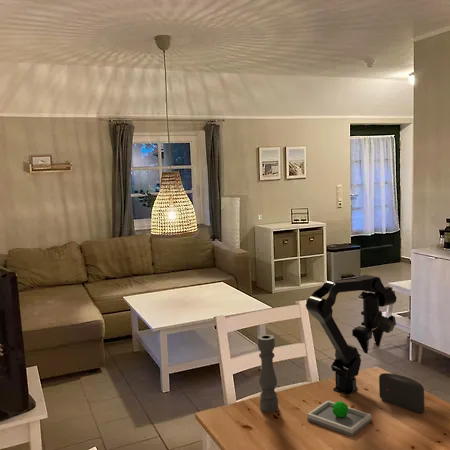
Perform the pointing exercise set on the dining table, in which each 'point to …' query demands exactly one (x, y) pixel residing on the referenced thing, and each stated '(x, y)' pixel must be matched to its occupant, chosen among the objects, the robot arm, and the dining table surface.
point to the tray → (339, 419)
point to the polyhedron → (340, 409)
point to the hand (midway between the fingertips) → (372, 349)
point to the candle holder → (267, 374)
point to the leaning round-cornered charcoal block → (402, 391)
